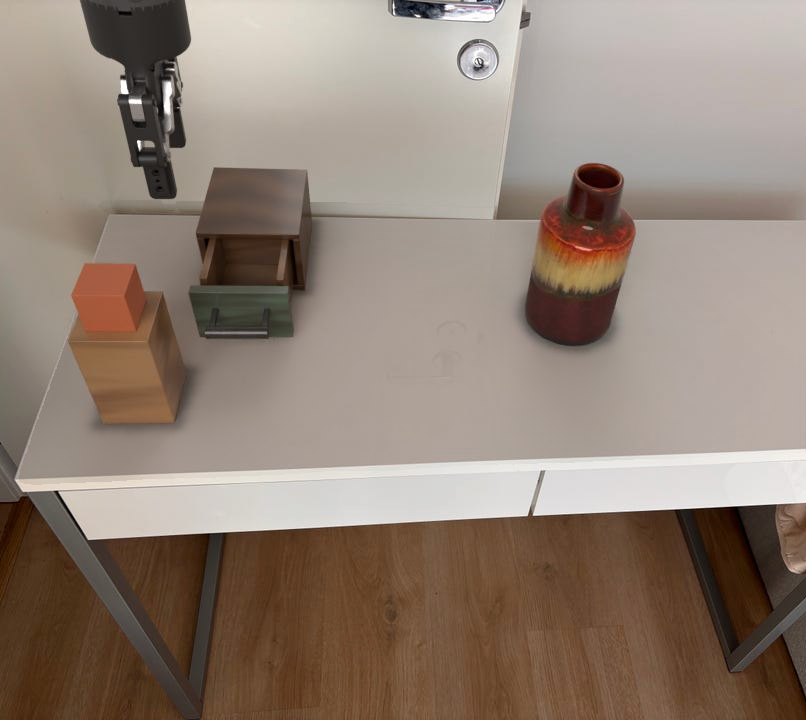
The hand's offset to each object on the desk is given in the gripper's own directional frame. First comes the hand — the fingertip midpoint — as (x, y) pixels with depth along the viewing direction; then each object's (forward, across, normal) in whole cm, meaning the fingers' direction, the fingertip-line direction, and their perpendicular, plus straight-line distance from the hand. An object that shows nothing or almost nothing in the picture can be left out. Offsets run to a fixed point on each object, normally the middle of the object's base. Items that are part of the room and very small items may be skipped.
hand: (169, 170), depth 69 cm
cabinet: (+23, -17, +6) cm, 29 cm away
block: (+12, +6, -6) cm, 15 cm away
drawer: (+22, -5, +5) cm, 23 cm away
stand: (+24, +6, -6) cm, 25 cm away
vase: (+22, -2, +43) cm, 49 cm away
